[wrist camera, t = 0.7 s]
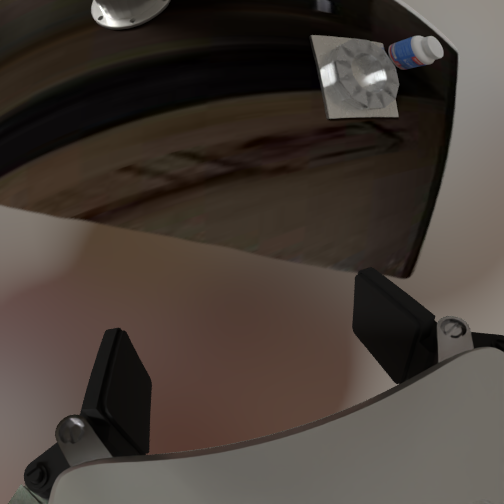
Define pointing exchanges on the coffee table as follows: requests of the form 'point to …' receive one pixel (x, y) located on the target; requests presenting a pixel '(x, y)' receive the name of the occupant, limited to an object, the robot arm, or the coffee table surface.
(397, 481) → the robot arm
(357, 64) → the ring socket
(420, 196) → the coffee table surface
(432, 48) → the pill bottle
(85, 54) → the coffee table surface
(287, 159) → the coffee table surface
